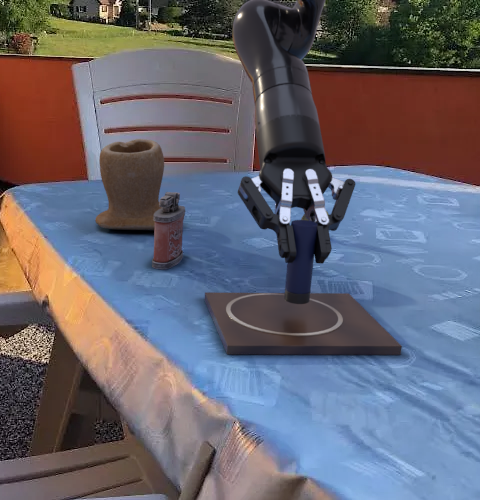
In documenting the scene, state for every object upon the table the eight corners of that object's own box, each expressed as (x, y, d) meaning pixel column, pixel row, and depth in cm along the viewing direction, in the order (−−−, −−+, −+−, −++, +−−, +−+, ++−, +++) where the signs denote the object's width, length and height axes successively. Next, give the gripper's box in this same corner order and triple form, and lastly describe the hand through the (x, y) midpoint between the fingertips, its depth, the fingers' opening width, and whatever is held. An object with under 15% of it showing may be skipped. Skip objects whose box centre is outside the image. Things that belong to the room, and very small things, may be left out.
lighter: (165, 252, 106) (168, 187, 104) (187, 255, 105) (190, 189, 102) (147, 267, 99) (149, 197, 96) (169, 270, 98) (172, 199, 95)
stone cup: (91, 237, 114) (91, 143, 110) (99, 219, 125) (100, 134, 121) (185, 240, 113) (189, 147, 109) (184, 223, 125) (188, 137, 120)
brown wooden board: (348, 300, 88) (349, 292, 88) (400, 355, 73) (402, 344, 72) (204, 299, 87) (204, 291, 87) (226, 354, 72) (227, 344, 71)
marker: (305, 295, 81) (313, 219, 79) (312, 304, 79) (320, 226, 76) (281, 295, 81) (288, 219, 79) (287, 304, 79) (295, 225, 76)
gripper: (235, 110, 81) (249, 242, 73) (355, 113, 82) (382, 244, 74) (224, 150, 88) (236, 274, 79) (335, 152, 89) (358, 276, 80)
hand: (306, 259), depth 77 cm, fingers closed on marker, 2 cm apart
